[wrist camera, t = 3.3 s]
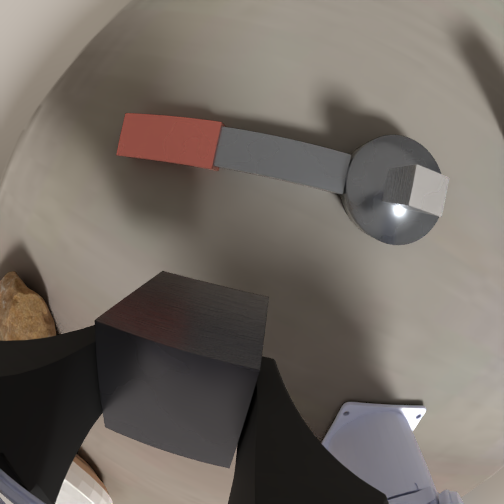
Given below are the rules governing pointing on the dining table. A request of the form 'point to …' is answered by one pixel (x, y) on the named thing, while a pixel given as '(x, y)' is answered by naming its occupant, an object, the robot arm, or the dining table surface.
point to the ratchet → (308, 169)
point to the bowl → (82, 486)
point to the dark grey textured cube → (181, 365)
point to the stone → (22, 311)
